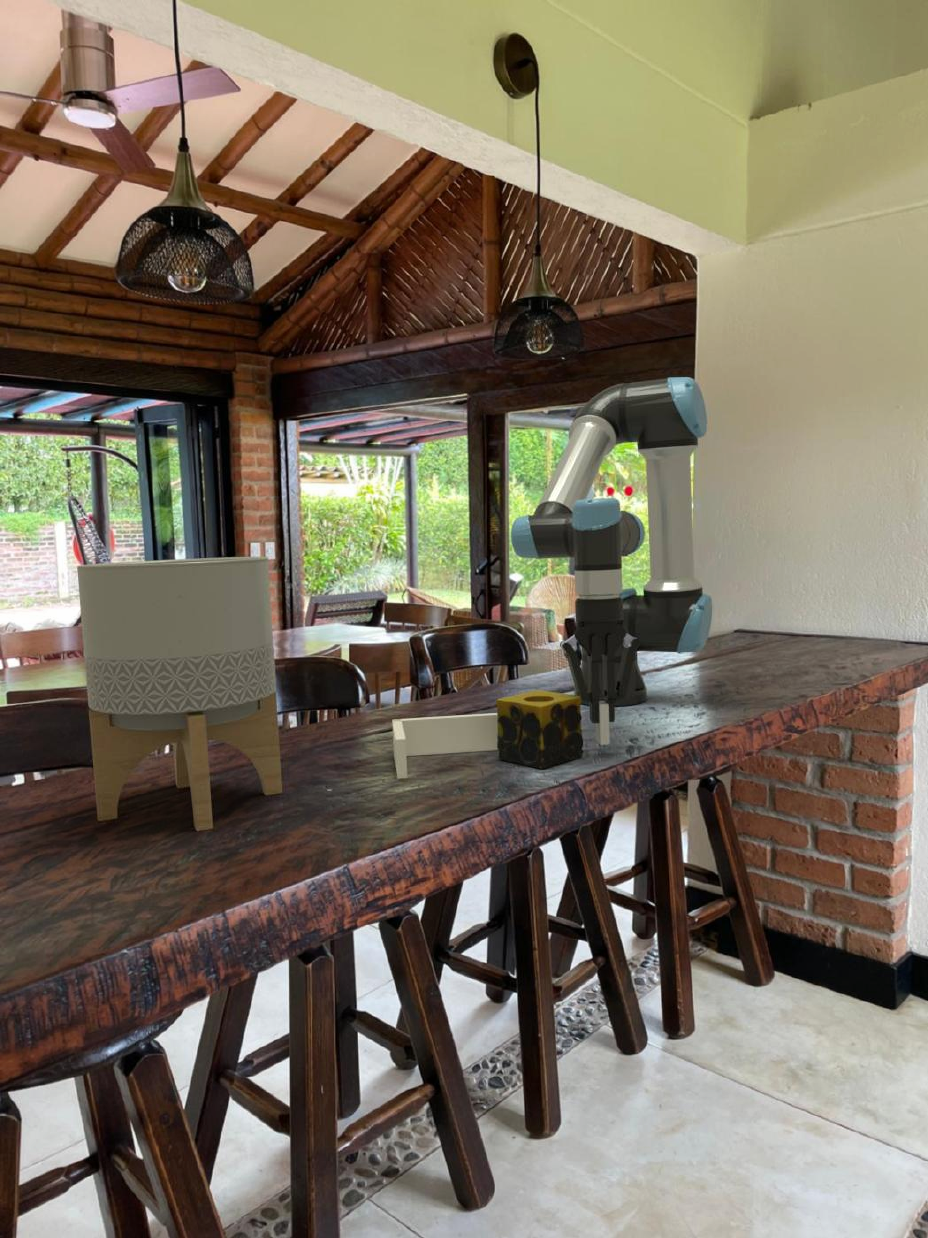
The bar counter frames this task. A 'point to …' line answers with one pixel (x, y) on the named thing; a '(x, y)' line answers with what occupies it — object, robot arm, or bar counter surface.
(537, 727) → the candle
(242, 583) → the planter
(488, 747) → the white angular piece
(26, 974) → the bar counter surface
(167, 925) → the bar counter surface
